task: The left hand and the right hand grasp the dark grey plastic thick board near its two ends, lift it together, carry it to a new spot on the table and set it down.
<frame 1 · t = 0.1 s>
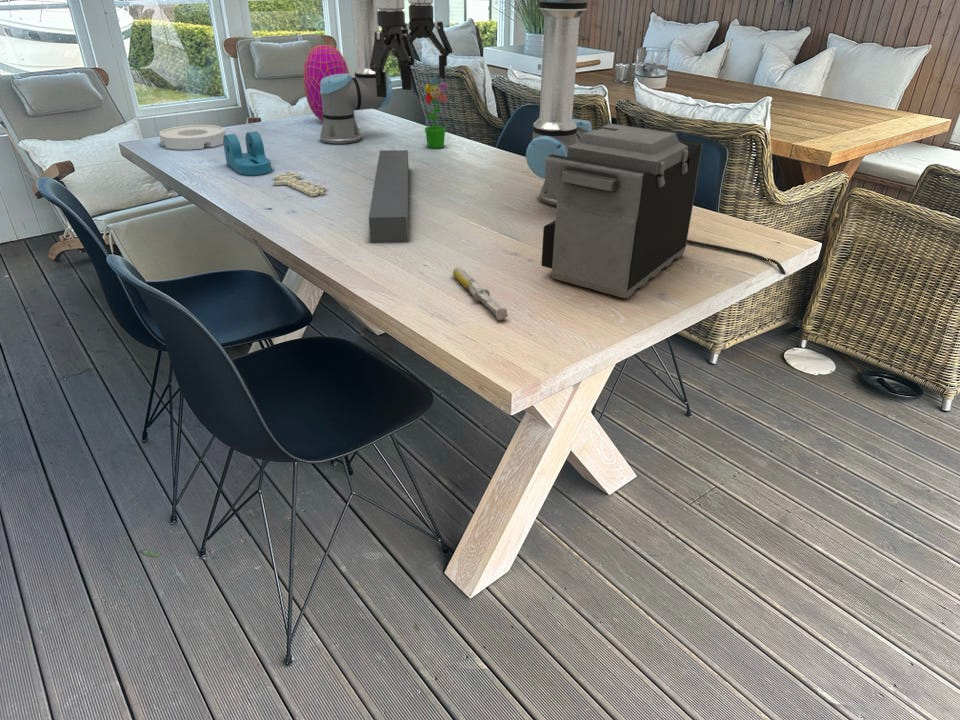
left hand: (423, 78, 220), 28 cm above the table, tool pointing down, fingers open, 13 cm apart
right hand: (394, 93, 197), 28 cm above the table, tool pointing down, fingers open, 13 cm apart
potted flower: (436, 146, 258), on the table
dark grey storage case: (615, 266, 160), on the table
decorative egg: (331, 122, 294), on the table
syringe: (478, 297, 145), on the table
ashtray: (194, 142, 260), on the table
camera mount: (251, 168, 229), on the table
decorative sign: (297, 186, 213), on the table
thick board: (392, 200, 201), on the table
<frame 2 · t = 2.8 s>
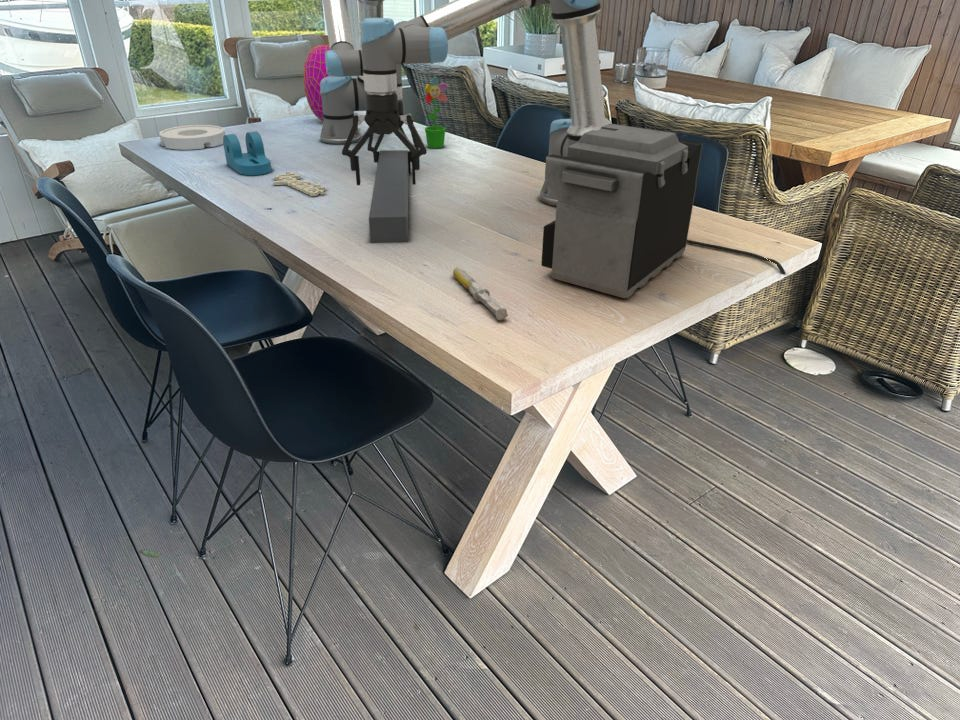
left hand: (394, 172, 226), 1 cm above the table, tool pointing down, fingers closed on thick board, 9 cm apart
right hand: (386, 183, 170), 13 cm above the table, tool pointing down, fingers open, 13 cm apart
thick board: (392, 200, 201), on the table, touching left hand
everything else where it was.
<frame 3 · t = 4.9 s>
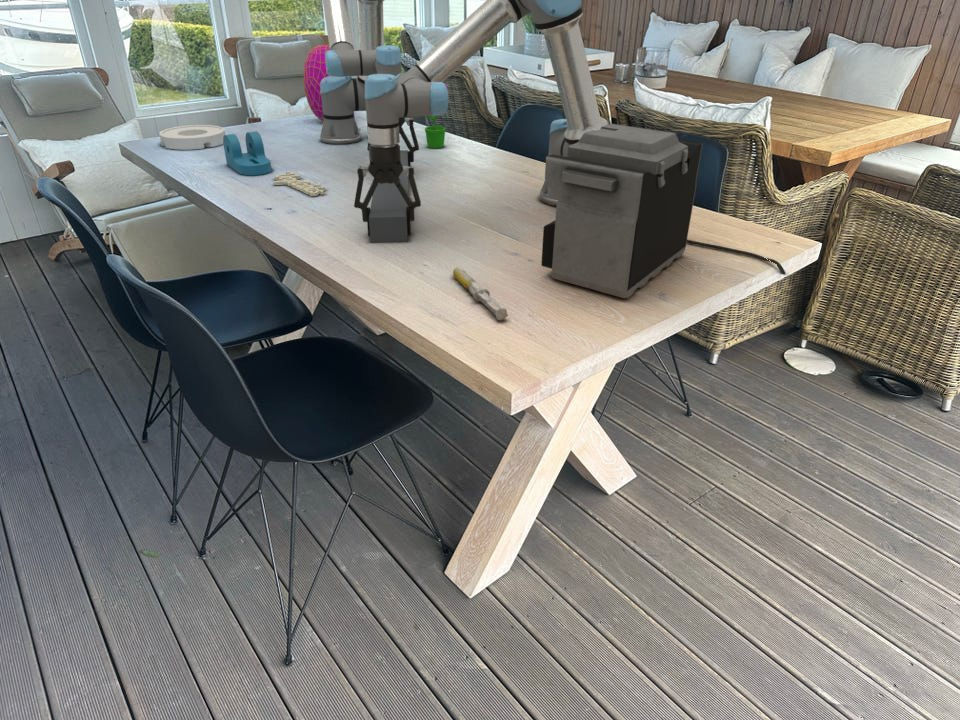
left hand: (394, 172, 226), 1 cm above the table, tool pointing down, fingers closed on thick board, 9 cm apart
right hand: (389, 233, 176), 1 cm above the table, tool pointing down, fingers closed on thick board, 9 cm apart
thick board: (392, 200, 201), on the table, touching right hand, left hand
everything else where it was.
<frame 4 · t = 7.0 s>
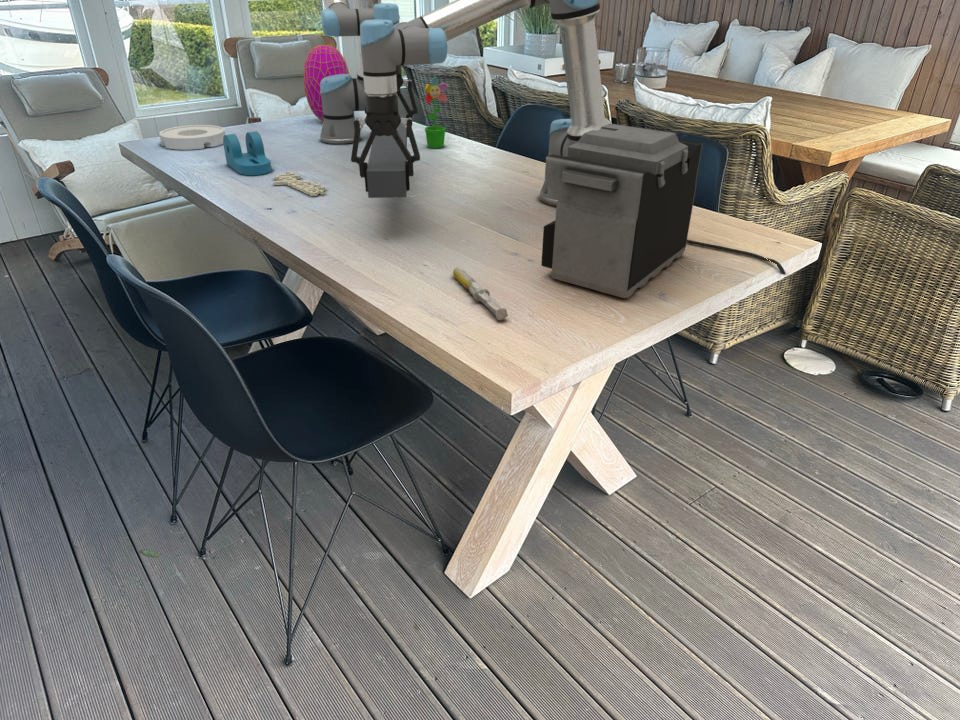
left hand: (392, 136, 220), 12 cm above the table, tool pointing down, fingers closed on thick board, 9 cm apart
right hand: (388, 189, 171), 12 cm above the table, tool pointing down, fingers closed on thick board, 9 cm apart
thick board: (390, 161, 196), point 11 cm above the table, touching right hand, left hand
everything else where it was.
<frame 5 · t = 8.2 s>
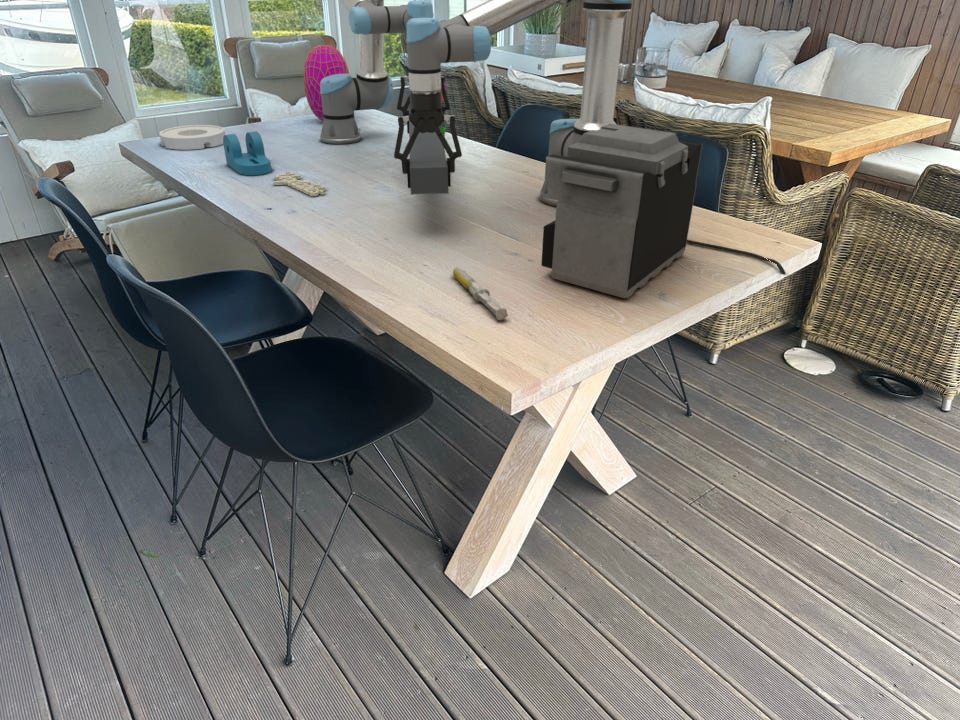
left hand: (424, 132, 222), 13 cm above the table, tool pointing down, fingers closed on thick board, 9 cm apart
right hand: (429, 185, 173), 12 cm above the table, tool pointing down, fingers closed on thick board, 9 cm apart
thick board: (426, 157, 198), point 12 cm above the table, touching right hand, left hand
everything else where it was.
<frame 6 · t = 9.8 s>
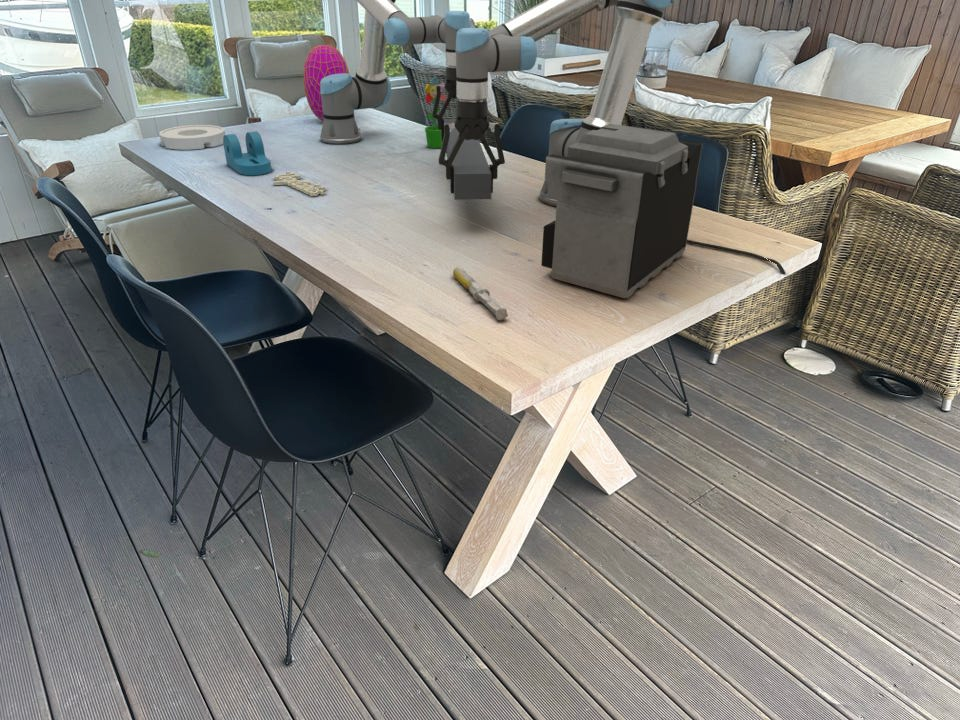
left hand: (458, 139, 226), 10 cm above the table, tool pointing down, fingers closed on thick board, 9 cm apart
right hand: (471, 191, 176), 10 cm above the table, tool pointing down, fingers closed on thick board, 9 cm apart
thick board: (463, 164, 201), point 9 cm above the table, touching right hand, left hand
everything else where it was.
when the left hand's fingers open (2 cm above the table, at t = 11.4 s): thick board stays where it is, on the table.
when the right hand's fingers open (2 cm above the table, at t = 11.4 s): thick board stays where it is, on the table.
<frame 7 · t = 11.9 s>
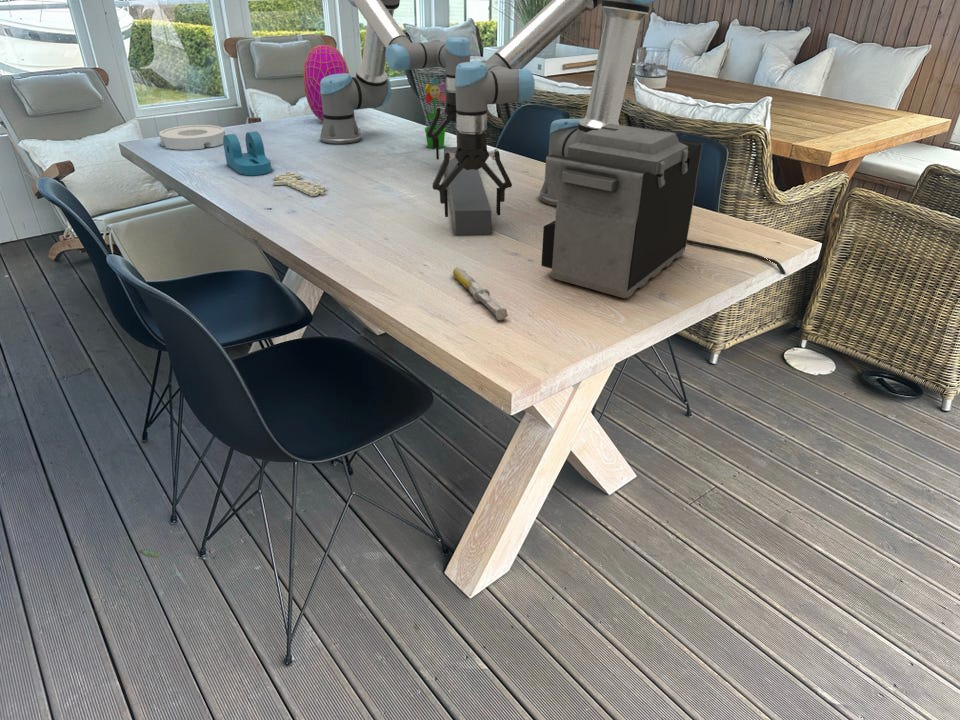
left hand: (457, 158, 229), 4 cm above the table, tool pointing down, fingers open, 13 cm apart
right hand: (472, 214, 180), 4 cm above the table, tool pointing down, fingers open, 13 cm apart
thick board: (464, 195, 206), on the table
everything else where it was.
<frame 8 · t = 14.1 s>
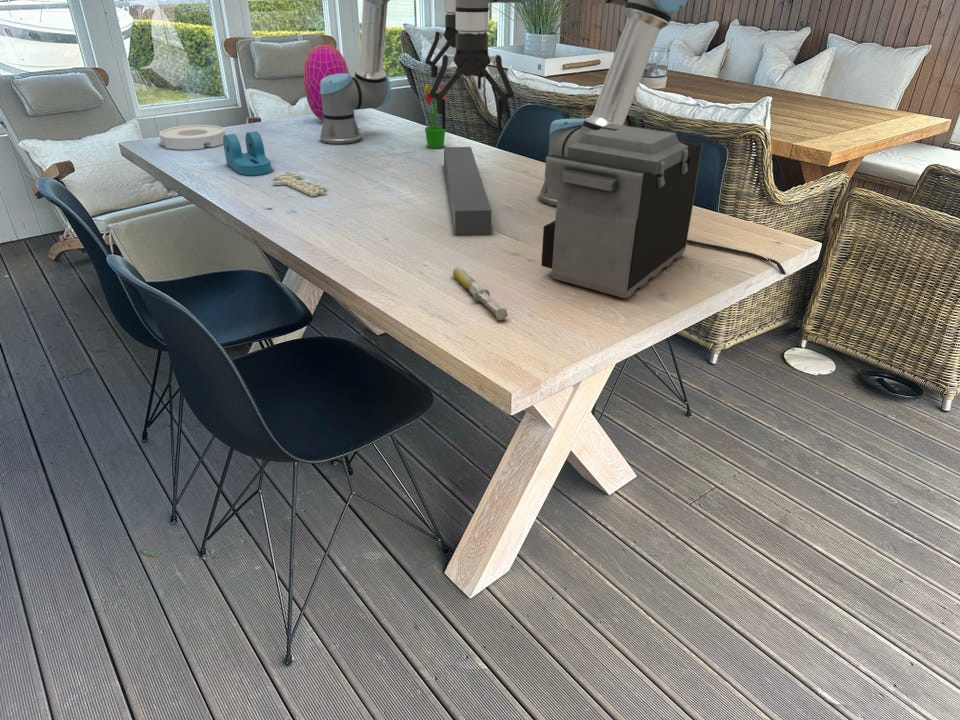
left hand: (457, 88, 218), 26 cm above the table, tool pointing down, fingers open, 13 cm apart
right hand: (471, 127, 168), 26 cm above the table, tool pointing down, fingers open, 13 cm apart
nothing on the table moved.
at the end: thick board inside the target area (0.1 cm from its centre), on the table; thick board tilted 0°; thick board never tilted more than 1° during the clip; both hands held the thick board at the same time; the left hand is holding nothing; the right hand is holding nothing; thick board at rest at the end (0.0 cm/s) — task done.
